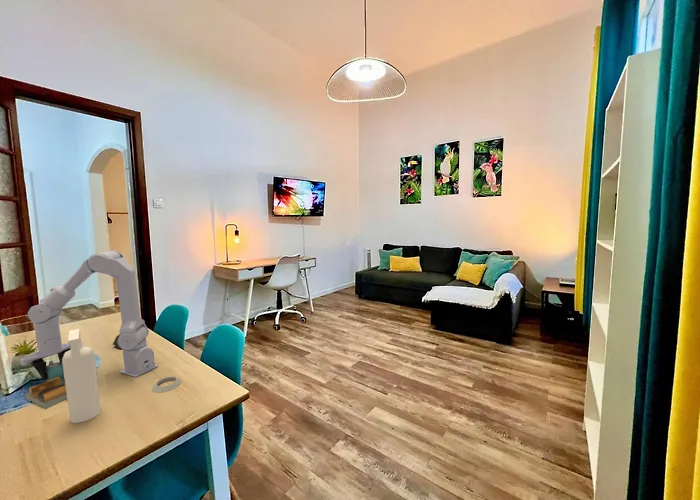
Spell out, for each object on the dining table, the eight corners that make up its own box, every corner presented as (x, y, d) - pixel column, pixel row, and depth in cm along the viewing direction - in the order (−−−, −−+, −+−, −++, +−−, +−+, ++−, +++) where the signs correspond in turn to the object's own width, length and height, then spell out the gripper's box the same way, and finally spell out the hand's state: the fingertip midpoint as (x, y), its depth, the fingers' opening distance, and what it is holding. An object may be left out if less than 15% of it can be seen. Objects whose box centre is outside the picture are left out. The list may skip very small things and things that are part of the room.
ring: (155, 382, 101) (155, 377, 101) (183, 377, 104) (183, 372, 104) (148, 396, 93) (147, 391, 93) (179, 390, 96) (178, 385, 96)
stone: (110, 352, 124) (108, 340, 123) (117, 340, 135) (116, 329, 135) (130, 348, 127) (129, 336, 126) (135, 337, 138) (134, 326, 138)
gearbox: (90, 388, 97) (89, 378, 97) (45, 408, 87) (44, 397, 87) (70, 380, 102) (68, 371, 102) (25, 399, 92) (23, 388, 92)
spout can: (66, 377, 104) (64, 360, 103) (49, 384, 100) (47, 366, 99) (59, 374, 106) (57, 357, 105) (43, 381, 102) (40, 363, 101)
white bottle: (103, 397, 92) (90, 320, 88) (102, 419, 82) (87, 334, 78) (73, 407, 88) (58, 326, 84) (69, 431, 78) (51, 342, 74)
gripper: (69, 328, 109) (74, 363, 111) (12, 344, 96) (19, 384, 98) (80, 331, 107) (84, 366, 108) (23, 348, 93) (30, 388, 95)
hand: (54, 375), depth 103 cm, fingers closed on spout can, 4 cm apart
